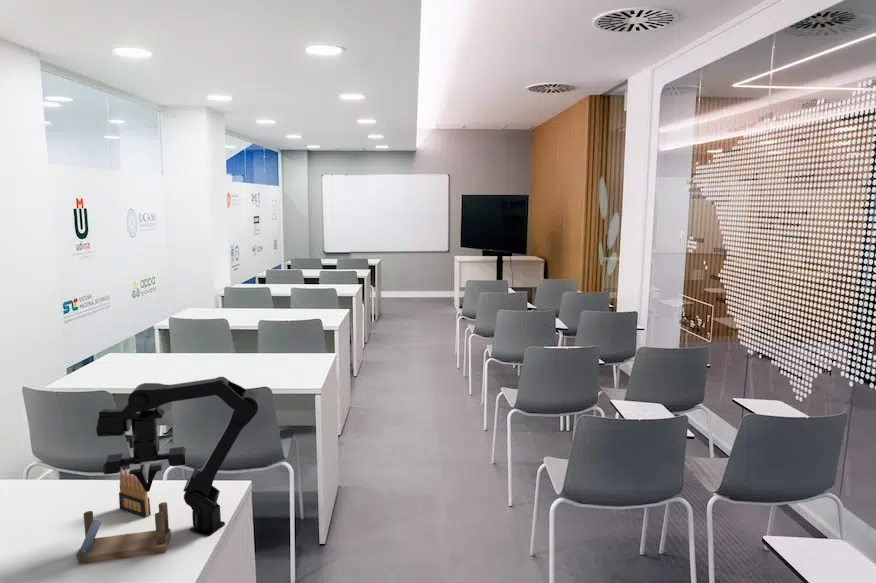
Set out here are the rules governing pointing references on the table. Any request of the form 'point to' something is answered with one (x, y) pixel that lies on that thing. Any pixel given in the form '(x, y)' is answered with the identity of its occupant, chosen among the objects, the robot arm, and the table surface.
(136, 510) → the ammunition clip
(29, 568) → the table surface
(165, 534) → the stool
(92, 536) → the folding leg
